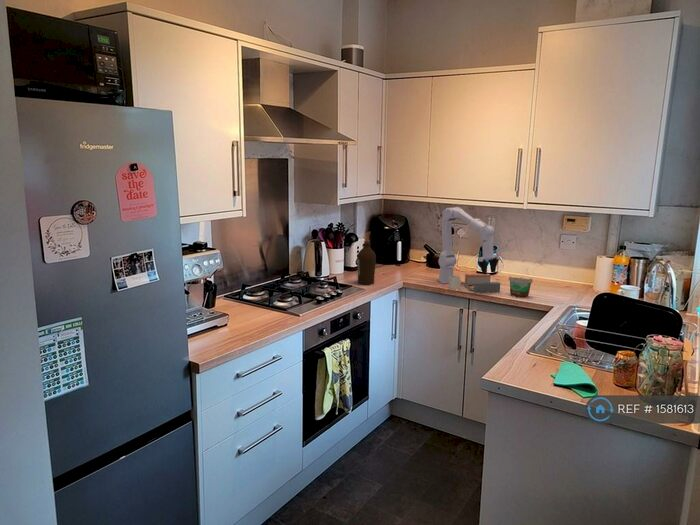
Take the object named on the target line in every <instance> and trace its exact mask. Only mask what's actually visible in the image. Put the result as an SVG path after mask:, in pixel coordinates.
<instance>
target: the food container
mask: <svg viewBox="0 0 700 525" xmlns="http://www.w3.org/2000/svg"><path fill="white" fill-rule="evenodd" d="M508 281H509V295H510V294H511V295H510V296H512V295H513V296H512V297H514V296H516V297H515V298H528V297H529V295H530V290H531V285H532V283H533V281H534V280H533V278H523V277H512V276H509V278H508ZM527 296H528V297H527Z"/></svg>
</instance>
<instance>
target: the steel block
mask: <svg viewBox="0 0 700 525" xmlns="http://www.w3.org/2000/svg"><path fill="white" fill-rule="evenodd" d="M447 287H449V288H450V289H449V288H448V289H449V290H450V291H452V290H453V291H458V290H459V291H460V290H461V277H460V275H453V276H449V283H448V286H447ZM456 289H458V290H456Z"/></svg>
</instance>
